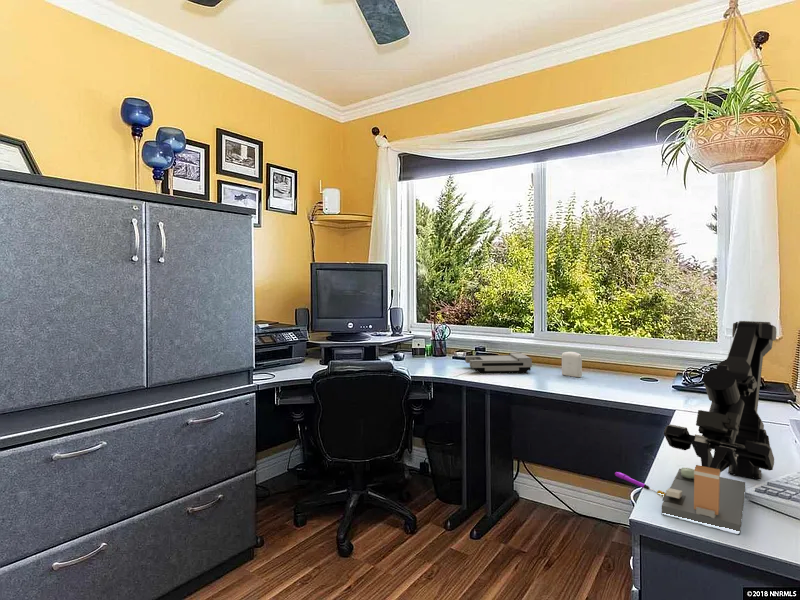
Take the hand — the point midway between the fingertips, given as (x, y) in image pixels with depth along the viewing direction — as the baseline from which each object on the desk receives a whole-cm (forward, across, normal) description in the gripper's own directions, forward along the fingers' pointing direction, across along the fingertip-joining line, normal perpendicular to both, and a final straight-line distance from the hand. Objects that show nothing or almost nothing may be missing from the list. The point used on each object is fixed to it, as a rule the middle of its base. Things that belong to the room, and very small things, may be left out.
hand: (706, 481), depth 95 cm
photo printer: (-76, -93, +86) cm, 148 cm away
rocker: (+4, -6, +3) cm, 7 cm away
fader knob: (+5, +1, +2) cm, 5 cm away
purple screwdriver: (+1, -14, +10) cm, 17 cm away
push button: (-6, -7, +13) cm, 16 cm away
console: (0, -2, +10) cm, 11 cm away
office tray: (-65, -129, +76) cm, 163 cm away
